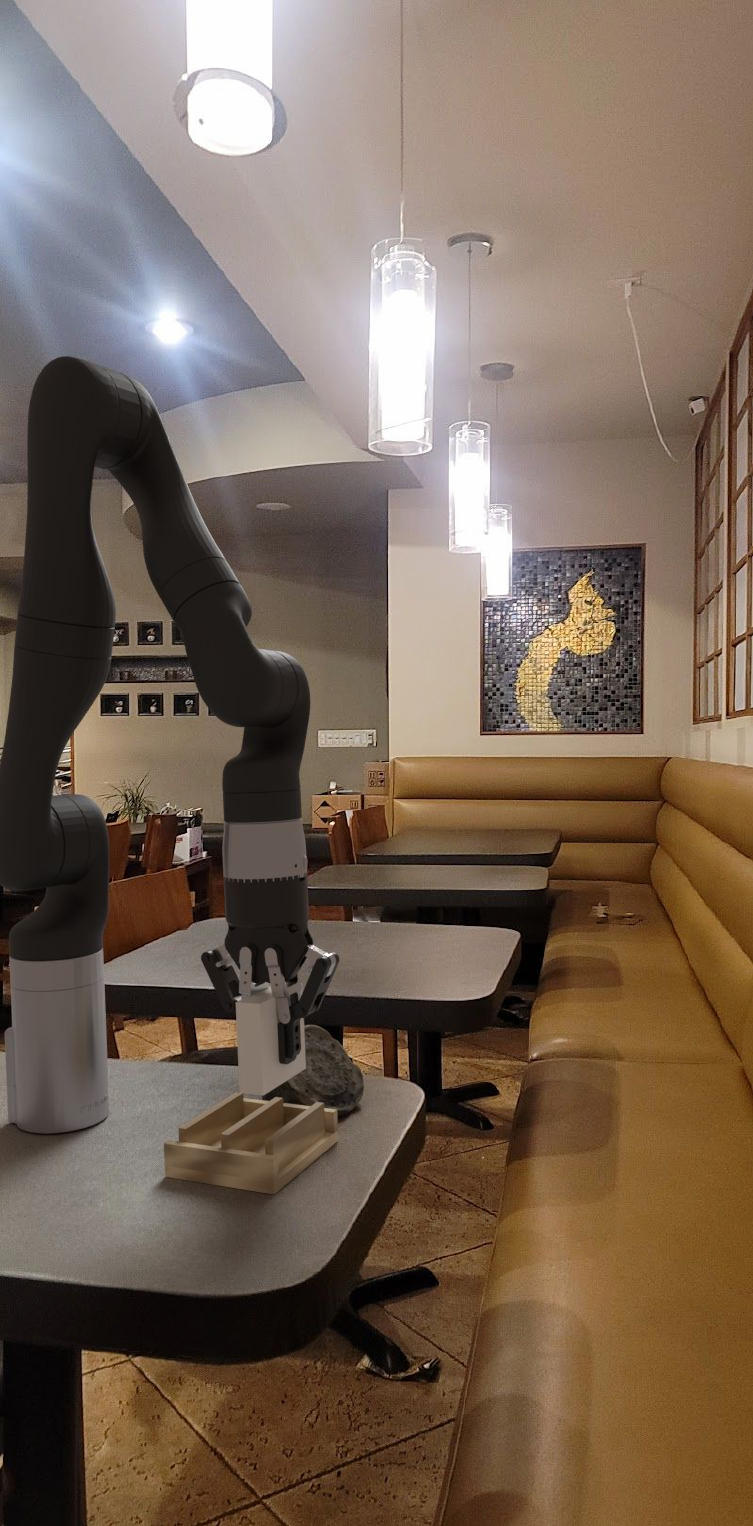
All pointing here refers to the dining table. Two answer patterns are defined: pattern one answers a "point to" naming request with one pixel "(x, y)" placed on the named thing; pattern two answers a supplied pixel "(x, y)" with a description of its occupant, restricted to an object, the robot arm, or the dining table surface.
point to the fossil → (323, 1076)
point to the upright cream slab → (262, 1045)
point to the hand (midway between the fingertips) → (273, 1059)
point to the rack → (251, 1143)
